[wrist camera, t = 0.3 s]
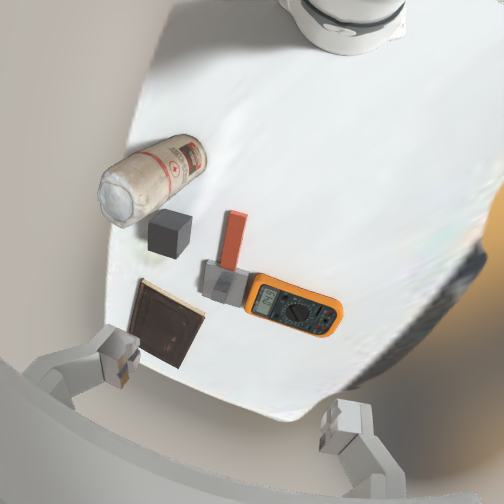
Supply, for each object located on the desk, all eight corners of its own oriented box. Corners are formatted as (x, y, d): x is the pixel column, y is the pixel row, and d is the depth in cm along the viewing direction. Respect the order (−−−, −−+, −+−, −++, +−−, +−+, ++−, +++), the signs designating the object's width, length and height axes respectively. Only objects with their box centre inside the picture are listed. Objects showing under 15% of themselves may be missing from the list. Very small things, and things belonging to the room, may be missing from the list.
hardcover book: (208, 311, 64) (204, 318, 62) (181, 363, 76) (178, 369, 74) (144, 276, 64) (139, 282, 62) (130, 334, 76) (126, 339, 74)
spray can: (206, 185, 49) (145, 239, 32) (162, 179, 50) (91, 227, 34) (209, 136, 45) (143, 166, 28) (164, 132, 46) (84, 161, 29)
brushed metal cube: (164, 208, 53) (148, 222, 48) (192, 216, 53) (178, 231, 48) (162, 235, 56) (147, 250, 51) (189, 243, 56) (176, 259, 51)
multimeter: (328, 330, 60) (328, 342, 57) (246, 302, 60) (241, 313, 57) (347, 300, 55) (348, 312, 52) (257, 268, 56) (254, 279, 53)
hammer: (217, 206, 51) (208, 216, 47) (262, 219, 50) (257, 230, 46) (204, 291, 61) (196, 305, 57) (241, 303, 60) (235, 318, 56)
